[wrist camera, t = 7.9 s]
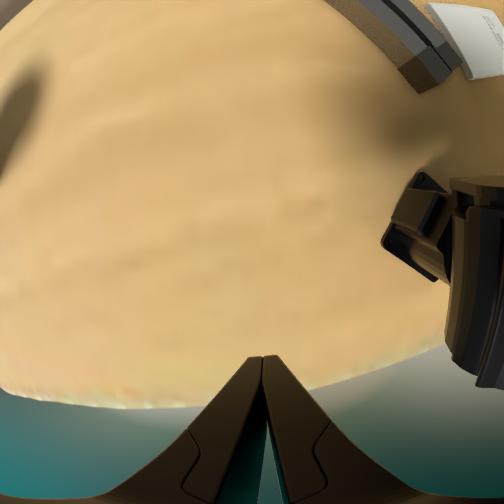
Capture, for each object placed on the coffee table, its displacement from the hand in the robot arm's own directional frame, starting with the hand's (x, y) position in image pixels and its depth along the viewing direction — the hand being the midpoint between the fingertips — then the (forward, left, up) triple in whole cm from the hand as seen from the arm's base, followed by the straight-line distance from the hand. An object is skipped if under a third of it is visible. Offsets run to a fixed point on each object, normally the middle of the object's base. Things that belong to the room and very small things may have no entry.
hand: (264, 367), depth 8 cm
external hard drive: (-9, -30, -13) cm, 34 cm away
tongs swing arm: (+5, -22, -12) cm, 25 cm away
